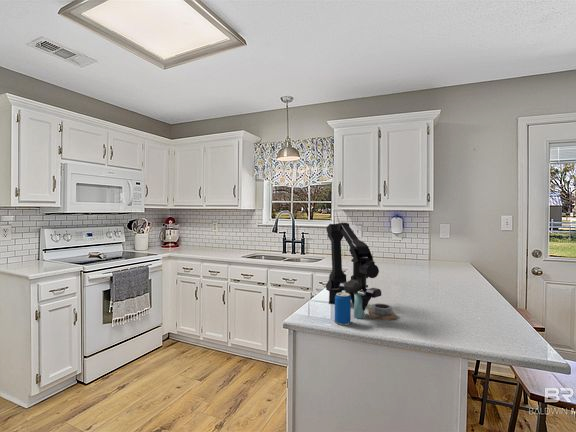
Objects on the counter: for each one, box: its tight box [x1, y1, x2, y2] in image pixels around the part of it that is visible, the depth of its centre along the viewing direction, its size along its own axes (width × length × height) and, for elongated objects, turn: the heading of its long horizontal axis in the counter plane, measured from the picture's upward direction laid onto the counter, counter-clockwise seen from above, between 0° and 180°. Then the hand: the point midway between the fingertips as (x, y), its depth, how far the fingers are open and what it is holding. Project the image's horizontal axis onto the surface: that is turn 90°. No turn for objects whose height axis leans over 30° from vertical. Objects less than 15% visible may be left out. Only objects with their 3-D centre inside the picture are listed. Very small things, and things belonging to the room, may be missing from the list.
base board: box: [367, 308, 397, 321], centre depth 145 cm, size 11×11×1 cm
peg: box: [353, 292, 365, 320], centre depth 142 cm, size 4×4×10 cm
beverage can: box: [334, 291, 352, 326], centre depth 135 cm, size 6×6×12 cm
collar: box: [371, 302, 393, 316], centre depth 145 cm, size 8×8×3 cm
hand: (359, 308), depth 142 cm, fingers closed on peg, 4 cm apart
